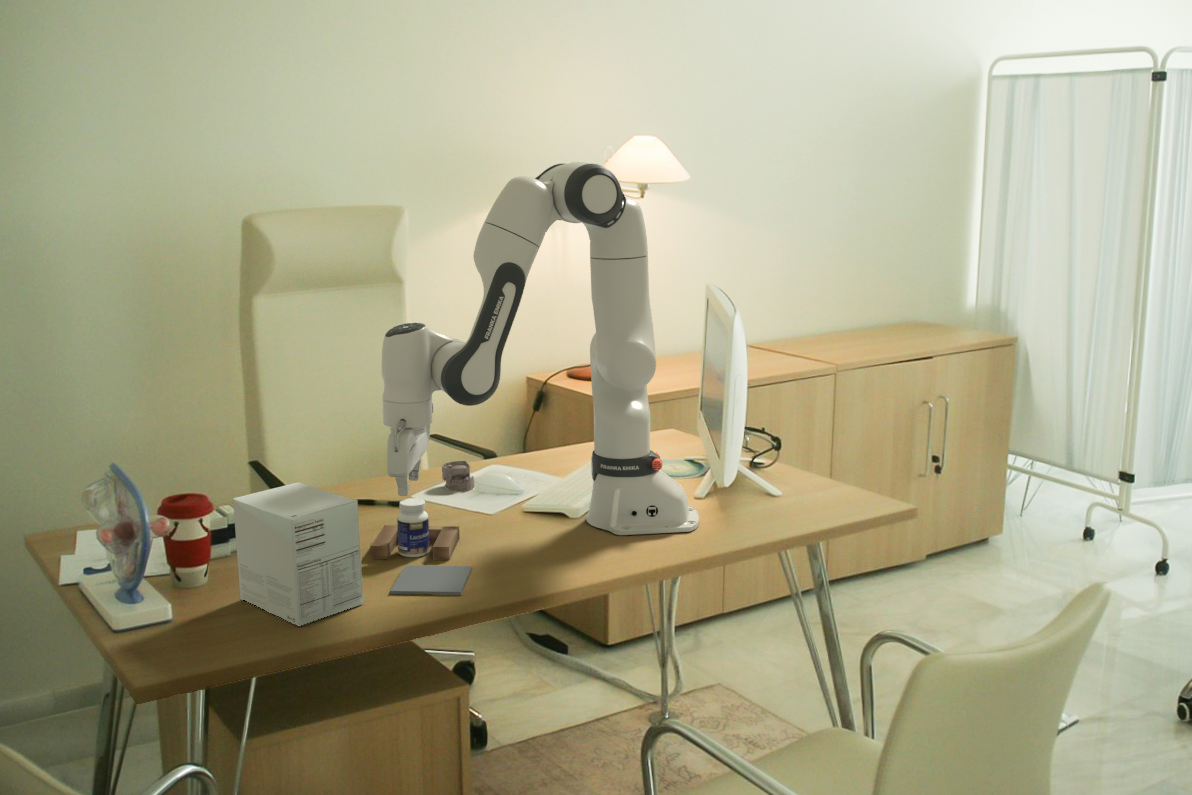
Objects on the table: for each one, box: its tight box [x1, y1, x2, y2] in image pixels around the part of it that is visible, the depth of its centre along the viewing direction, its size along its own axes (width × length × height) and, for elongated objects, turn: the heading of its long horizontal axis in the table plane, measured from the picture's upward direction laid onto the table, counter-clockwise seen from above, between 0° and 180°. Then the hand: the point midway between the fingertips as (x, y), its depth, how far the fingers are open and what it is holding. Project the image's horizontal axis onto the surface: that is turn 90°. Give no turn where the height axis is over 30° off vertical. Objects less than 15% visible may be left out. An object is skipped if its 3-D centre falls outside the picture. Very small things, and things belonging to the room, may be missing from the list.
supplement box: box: [232, 481, 364, 626], centre depth 195 cm, size 17×13×18 cm
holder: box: [370, 524, 461, 561], centre depth 222 cm, size 14×12×2 cm
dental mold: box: [441, 460, 475, 492], centre depth 260 cm, size 8×7×5 cm
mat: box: [390, 564, 473, 596], centre depth 206 cm, size 12×12×1 cm
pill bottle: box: [396, 497, 430, 558], centre depth 218 cm, size 6×6×10 cm
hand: (409, 487), depth 217 cm, fingers open, 8 cm apart
